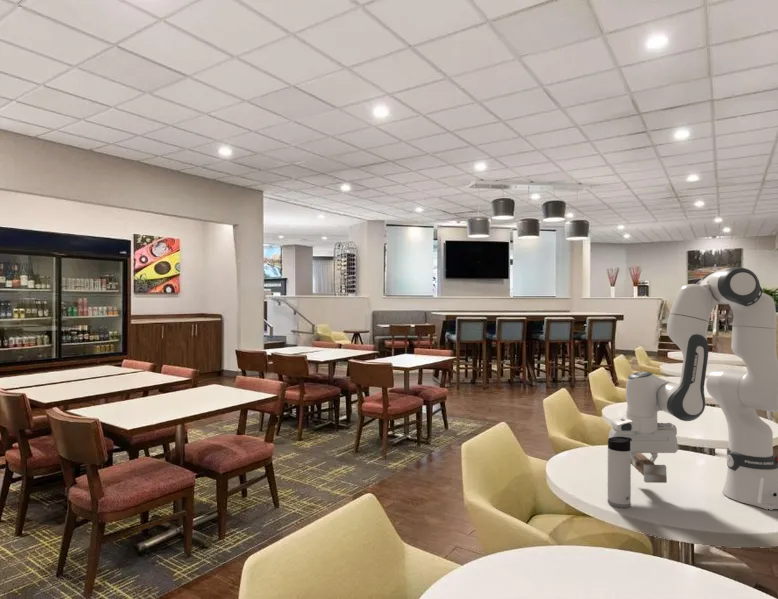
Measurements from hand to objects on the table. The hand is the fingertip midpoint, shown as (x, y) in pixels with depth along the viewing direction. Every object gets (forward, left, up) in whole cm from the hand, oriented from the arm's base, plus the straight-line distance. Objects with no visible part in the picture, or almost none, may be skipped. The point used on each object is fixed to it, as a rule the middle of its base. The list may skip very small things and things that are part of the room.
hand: (643, 466), depth 157 cm
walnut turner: (0, 0, -2) cm, 2 cm away
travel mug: (+11, +11, -8) cm, 18 cm away
